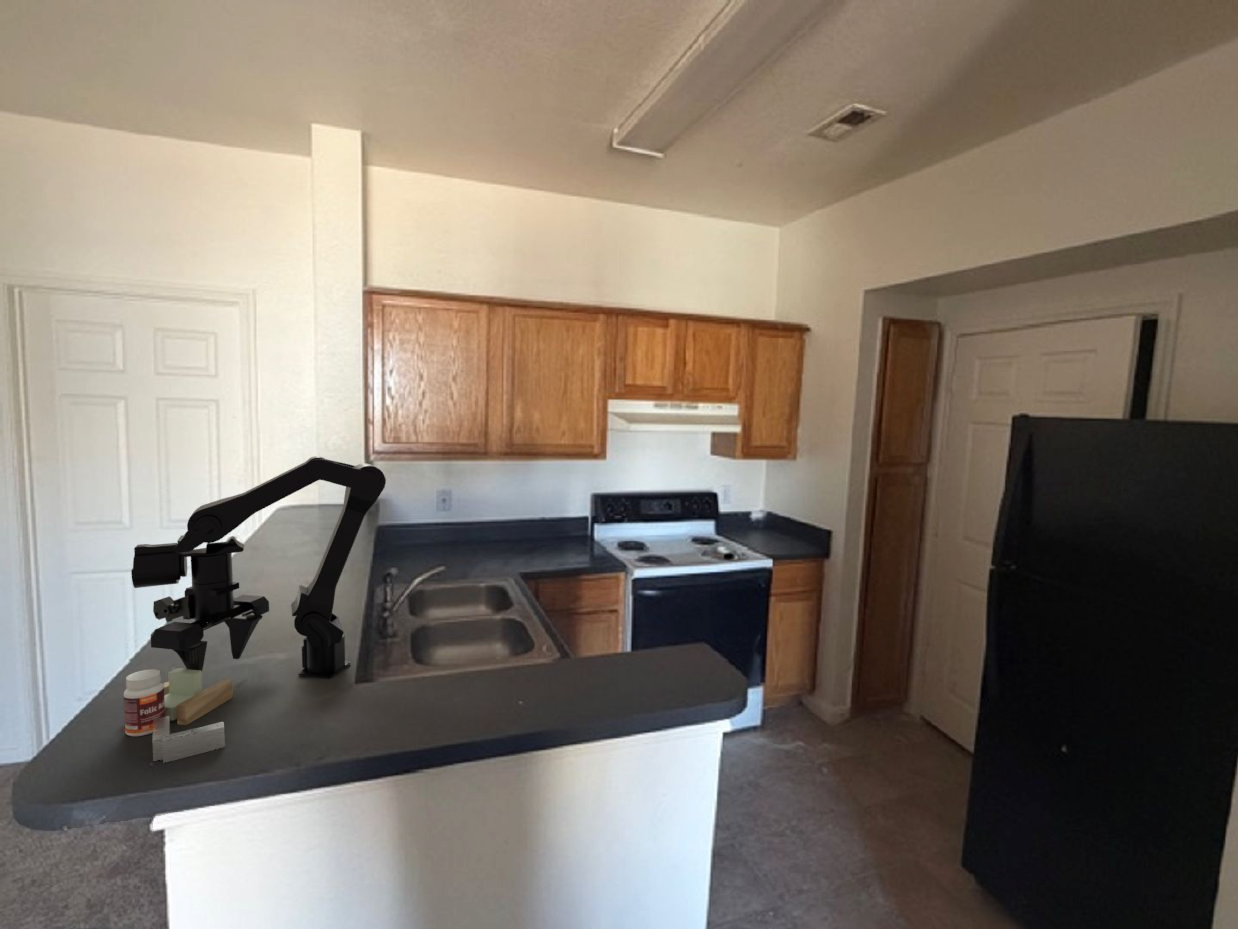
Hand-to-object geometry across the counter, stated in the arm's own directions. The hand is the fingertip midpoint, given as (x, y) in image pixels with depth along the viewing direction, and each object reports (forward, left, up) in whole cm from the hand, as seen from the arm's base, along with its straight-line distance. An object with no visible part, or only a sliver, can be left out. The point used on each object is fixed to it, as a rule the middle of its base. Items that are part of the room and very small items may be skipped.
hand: (217, 668), depth 103 cm
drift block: (0, +8, -3) cm, 9 cm away
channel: (0, +7, -4) cm, 8 cm away
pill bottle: (0, +13, -4) cm, 14 cm away
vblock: (-9, +17, -4) cm, 20 cm away
